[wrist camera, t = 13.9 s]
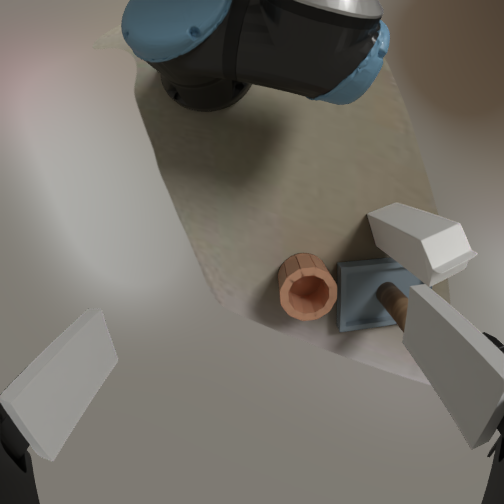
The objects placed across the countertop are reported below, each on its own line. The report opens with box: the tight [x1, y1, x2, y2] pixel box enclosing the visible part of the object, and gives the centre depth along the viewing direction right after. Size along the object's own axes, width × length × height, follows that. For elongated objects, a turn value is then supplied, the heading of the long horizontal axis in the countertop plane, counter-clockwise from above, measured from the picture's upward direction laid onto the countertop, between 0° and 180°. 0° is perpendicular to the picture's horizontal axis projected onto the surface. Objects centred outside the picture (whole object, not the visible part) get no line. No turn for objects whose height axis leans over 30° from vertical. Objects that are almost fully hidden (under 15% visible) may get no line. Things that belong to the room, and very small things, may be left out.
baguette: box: [376, 282, 409, 332], centre depth 42 cm, size 4×4×14 cm
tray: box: [337, 257, 432, 332], centre depth 48 cm, size 12×18×3 cm, turn 96°
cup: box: [278, 253, 337, 321], centre depth 46 cm, size 8×8×8 cm
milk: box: [367, 202, 478, 287], centre depth 36 cm, size 6×6×22 cm
